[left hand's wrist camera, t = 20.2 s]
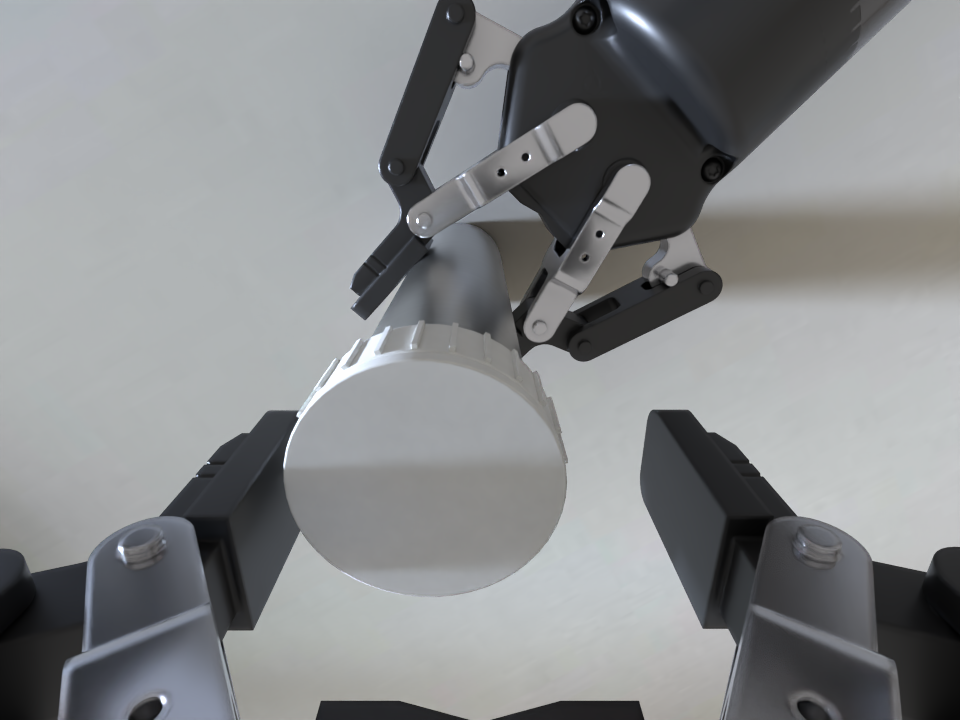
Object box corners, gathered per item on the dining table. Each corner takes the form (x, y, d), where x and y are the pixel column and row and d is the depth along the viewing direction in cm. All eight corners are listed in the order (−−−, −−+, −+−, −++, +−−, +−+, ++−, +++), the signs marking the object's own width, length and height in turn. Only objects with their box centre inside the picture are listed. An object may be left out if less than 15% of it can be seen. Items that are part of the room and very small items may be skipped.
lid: (541, 540, 11) (553, 608, 10) (315, 528, 11) (287, 594, 10) (572, 328, 10) (592, 365, 8) (303, 310, 9) (265, 343, 8)
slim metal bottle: (408, 237, 25) (276, 401, 9) (487, 212, 25) (506, 335, 8) (435, 313, 27) (365, 577, 10) (510, 291, 26) (565, 528, 10)
